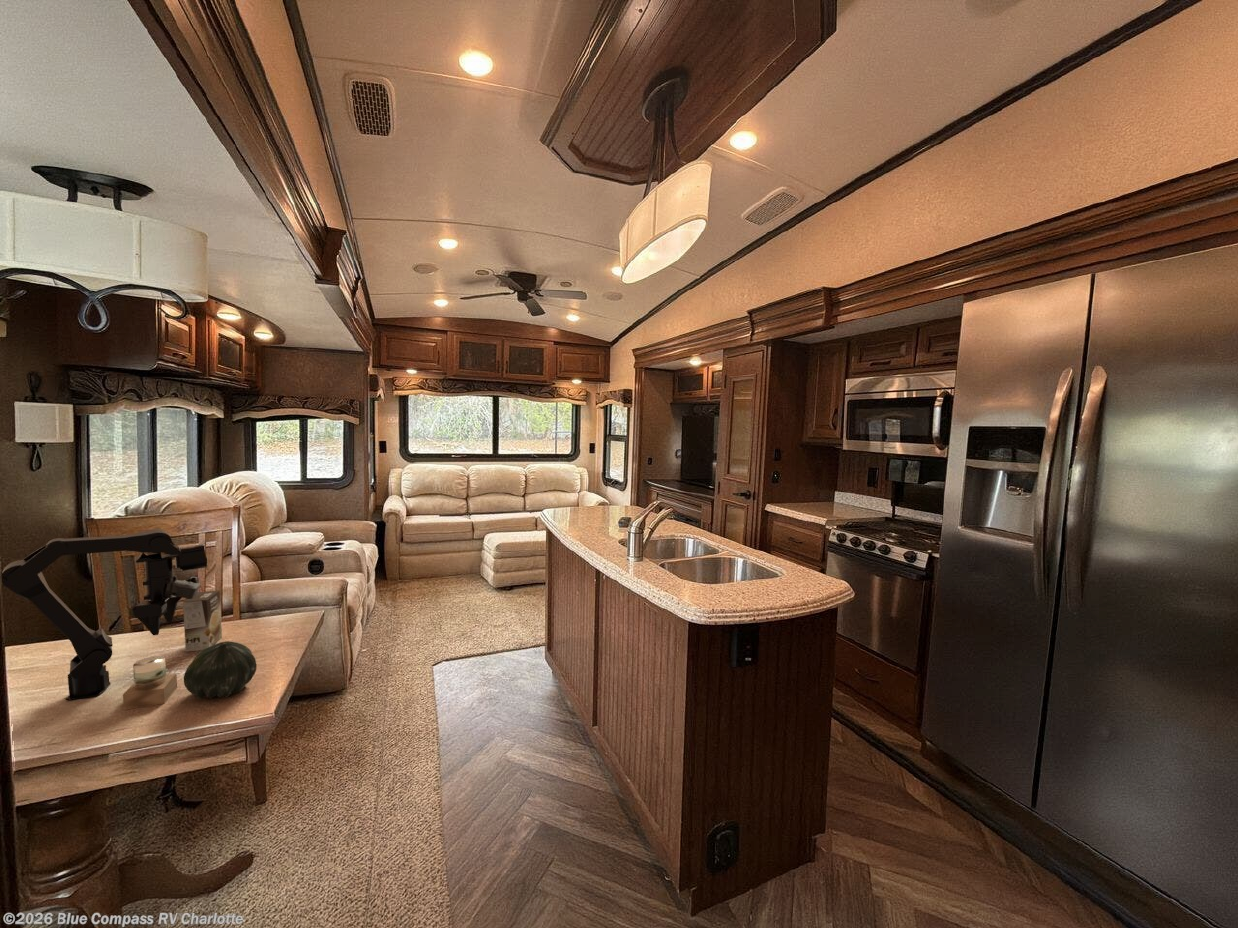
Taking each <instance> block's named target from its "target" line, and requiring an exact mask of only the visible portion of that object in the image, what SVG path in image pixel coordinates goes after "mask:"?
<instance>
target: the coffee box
mask: <svg viewBox="0 0 1238 928" xmlns="http://www.w3.org/2000/svg"><path fill="white" fill-rule="evenodd" d="M182 607H183V609H182V610H183V623H184V624H183V626H184V627H183V628H184V644H185V645H184V647H185V652H195V651H202V650H204V649H206V648H208V647H211V646H213V645H215V644H217V642H218V641H220V640H222V638H223V632H222V631H223V628H222V610H221V608H222V607H221V590H209V591H198V592H197V595H196V596H194V597H193V598H192V599H185V600H183V601H182ZM218 643H219V642H218Z"/></svg>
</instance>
